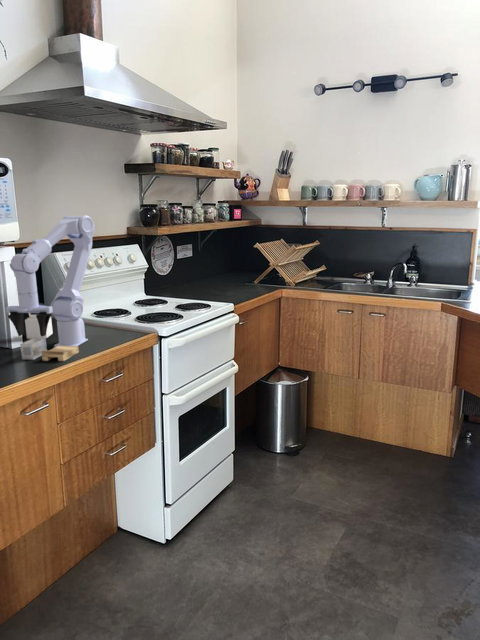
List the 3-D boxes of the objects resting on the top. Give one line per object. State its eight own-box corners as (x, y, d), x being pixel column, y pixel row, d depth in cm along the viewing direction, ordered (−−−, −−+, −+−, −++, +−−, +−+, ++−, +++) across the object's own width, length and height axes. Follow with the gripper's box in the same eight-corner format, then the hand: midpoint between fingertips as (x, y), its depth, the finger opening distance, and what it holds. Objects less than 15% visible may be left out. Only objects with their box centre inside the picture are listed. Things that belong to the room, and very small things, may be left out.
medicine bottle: (53, 333, 195) (49, 302, 193) (46, 338, 188) (43, 305, 186) (33, 334, 195) (30, 302, 192) (26, 339, 188) (22, 306, 186)
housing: (35, 352, 171) (34, 337, 170) (47, 352, 170) (45, 337, 169) (21, 359, 163) (20, 344, 162) (33, 360, 162) (31, 344, 161)
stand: (58, 351, 171) (57, 342, 170) (78, 352, 169) (77, 343, 169) (42, 360, 161) (41, 351, 160) (63, 361, 160) (62, 351, 159)
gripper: (-2, 294, 160) (3, 338, 162) (42, 295, 157) (47, 338, 160) (11, 291, 166) (16, 332, 169) (54, 291, 164) (58, 333, 167)
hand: (32, 335), depth 165 cm, fingers open, 7 cm apart
